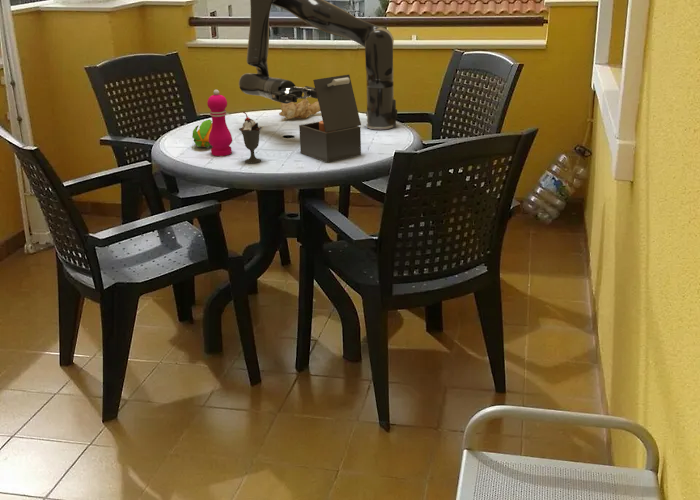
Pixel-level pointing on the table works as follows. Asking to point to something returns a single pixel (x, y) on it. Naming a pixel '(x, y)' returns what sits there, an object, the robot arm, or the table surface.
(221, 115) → the pepper mill
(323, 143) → the open brown box
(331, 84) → the dark brown box lid
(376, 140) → the table surface
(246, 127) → the sundae
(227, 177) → the table surface
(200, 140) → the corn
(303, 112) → the ginger root
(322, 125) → the tin can
